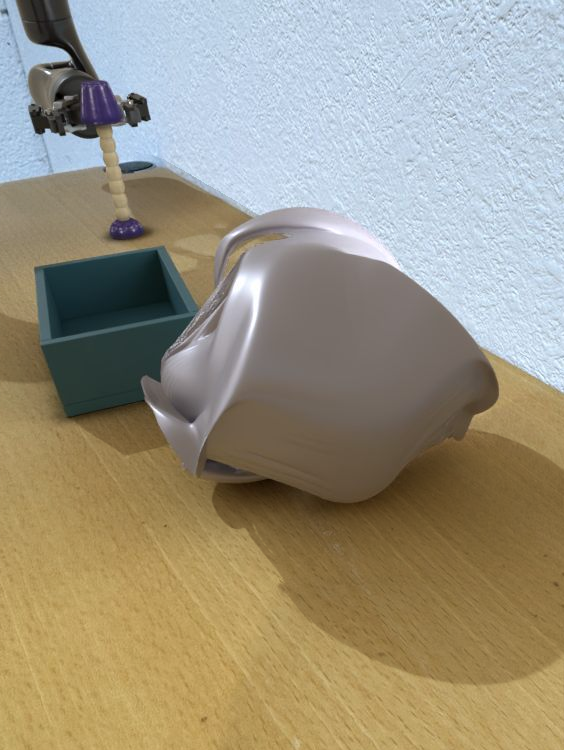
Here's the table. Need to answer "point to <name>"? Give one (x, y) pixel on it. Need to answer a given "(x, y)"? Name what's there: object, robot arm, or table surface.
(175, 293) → the bin
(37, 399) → the table surface
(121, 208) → the toy lamp
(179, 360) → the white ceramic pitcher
